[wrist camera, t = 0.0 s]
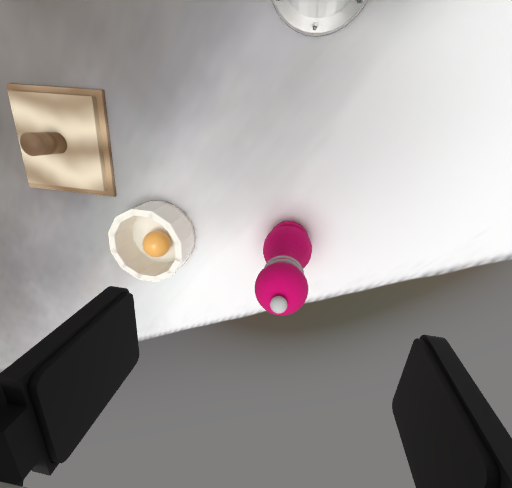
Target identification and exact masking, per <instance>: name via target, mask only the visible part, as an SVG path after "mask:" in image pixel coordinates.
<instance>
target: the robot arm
mask: <svg viewBox="0 0 512 488" xmlns="http://www.w3.org/2000/svg"><path fill="white" fill-rule="evenodd" d="M272 2H273V4H274V6H275V9H276V11H277V13H278V14H279V16H280V17H281V18H282V20H283V21H284V22H285V23H286V24H287V25H288V26H289V27H290V28H292V29H294V30H295V31H297V32H299V33H302V34H305V35H310V36H321V35H327V34H330V33H333V32H336V31H337V30H339V29H341V28H343V27H344V26H346V25H347V24H348V23H349V22H350V21H352V20H353V19H354V18H355V17H356V16H357V14H358V13H359V12H360V11H361V10H362V8H363V7H364V5H365V3H366V2H367V0H361V3H357V0H281V1H279V2H278V1H277V0H272ZM314 26H316V27H317V29H316V30H313V27H314ZM138 358H139V347H138V337H137V328H136V319H135V309H134V300H133V295H132V294H131V293H129V291H128V289H126V288H120V287H113V286H110V287H108V288H106V289H105V290H104V291H103V292H101V293H100V294H99V295H98V296H96V297H95V298H94V299H93V300H91V301H90V302H89V303H88V304H86V305H85V306H84V307H83V308H81V309H80V310H79V311H78V312H76V313H75V314H74V315H73V316H71V317H70V318H69V319H68V320H66V321H65V322H64V323H63V324H61V325H60V326H59V327H58V328H56V329H55V330H54V331H53V332H51V333H50V334H49V335H48V336H46V337H45V338H44V339H43V340H41V341H40V342H39V343H38V344H36V345H35V346H34V347H33V348H31V349H30V350H29V351H28V352H26V353H25V354H24V355H23V356H21V357H20V358H19V359H18V360H16V361H15V362H14V363H13V364H11V365H10V366H9V367H8V368H6V369H5V370H4V371H3V372H1V373H0V488H26V487H23V481H24V478H25V477H26V476H27V474H28V473H29V472H30V471H31V470H32V471H34V472H38V473H42V474H46V475H51V474H52V472H53V471H54V470H55V468H56V467H57V465H58V464H59V463H63V462H64V461H66V460H67V458H68V457H69V456H70V455H71V453H72V452H73V451H74V449H75V448H76V446H77V445H78V444H79V442H80V441H81V439H82V438H83V437H84V435H85V434H86V433H87V431H88V430H89V429H90V427H91V426H92V424H93V423H94V421H95V420H96V419H97V417H98V416H99V414H100V413H101V412H102V410H103V409H104V408H105V406H106V405H107V403H108V402H109V401H110V399H111V398H112V397H113V395H114V394H115V393H116V391H117V390H118V388H119V387H120V386H121V384H122V382H123V381H124V380H125V379H126V377H127V376H128V375H129V373H130V372H131V370H132V369H133V368H134V366H135V365H136V363H137V361H138ZM392 409H393V414H394V417H395V421H396V424H397V427H398V430H399V433H400V437H401V440H402V443H403V447H404V450H405V453H406V456H407V460H408V463H409V466H410V469H411V473H412V476H413V479H414V483H415V486H416V488H512V438H511V437H510V435H509V434H508V432H507V431H506V429H505V428H504V426H503V425H502V423H501V422H500V420H499V419H498V417H497V416H496V414H495V413H494V411H493V410H492V408H491V407H490V405H489V403H488V402H487V401H486V399H485V398H484V396H483V394H482V393H481V391H480V390H479V388H478V387H477V385H476V384H475V382H474V381H473V379H472V378H471V376H470V375H469V373H468V372H467V370H466V369H465V367H464V366H463V364H462V363H461V361H460V360H459V358H458V357H457V355H456V354H455V352H454V351H453V349H452V348H451V346H450V345H449V343H448V342H447V340H446V339H445V338H441V337H435V336H429V335H422V336H421V337H420V339H415V340H414V342H413V344H412V347H411V350H410V353H409V356H408V359H407V361H406V364H405V367H404V370H403V373H402V376H401V378H400V381H399V384H398V387H397V390H396V393H395V395H394V398H393V403H392Z"/></svg>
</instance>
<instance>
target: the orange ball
mask: <svg viewBox="0 0 512 488" xmlns="http://www.w3.org/2000/svg"><path fill="white" fill-rule="evenodd" d="M142 246H143V249H144V251H145V252H146V253H147V254H148V255H149V256H152V257H161V256H163V255H165V254H166V253H167V252H168V251H169V249H170V239H169V237H168V236H167V235H166V234H165V233H163V232H161V231H152V232H149V233H148V234H147V235H146V236H145V237H144V239H143V242H142Z"/></svg>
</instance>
